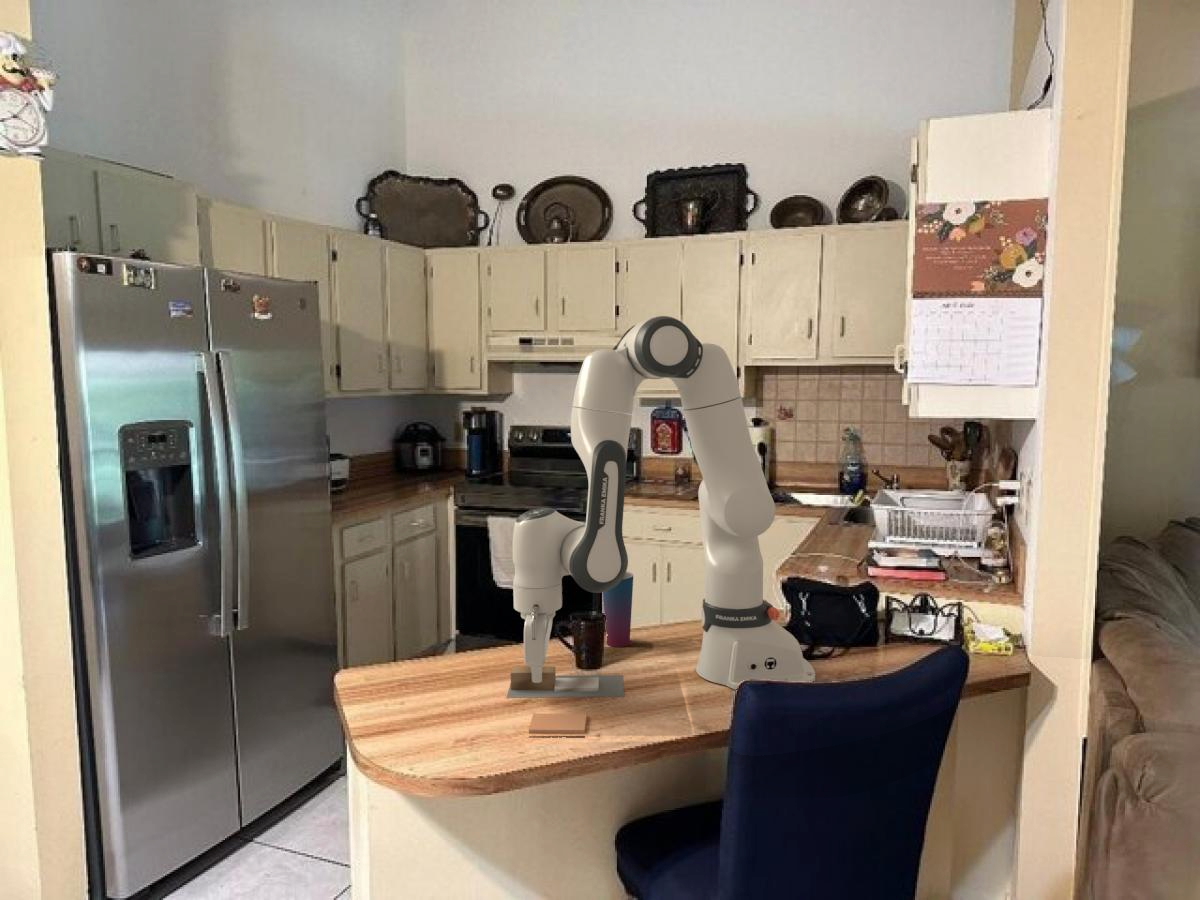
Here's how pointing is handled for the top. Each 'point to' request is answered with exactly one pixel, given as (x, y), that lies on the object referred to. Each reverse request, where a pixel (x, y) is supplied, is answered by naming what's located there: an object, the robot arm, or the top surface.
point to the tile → (557, 724)
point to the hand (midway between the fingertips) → (539, 671)
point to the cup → (619, 612)
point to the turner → (550, 681)
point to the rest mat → (607, 688)
